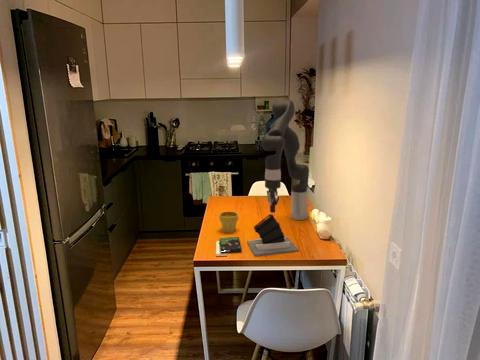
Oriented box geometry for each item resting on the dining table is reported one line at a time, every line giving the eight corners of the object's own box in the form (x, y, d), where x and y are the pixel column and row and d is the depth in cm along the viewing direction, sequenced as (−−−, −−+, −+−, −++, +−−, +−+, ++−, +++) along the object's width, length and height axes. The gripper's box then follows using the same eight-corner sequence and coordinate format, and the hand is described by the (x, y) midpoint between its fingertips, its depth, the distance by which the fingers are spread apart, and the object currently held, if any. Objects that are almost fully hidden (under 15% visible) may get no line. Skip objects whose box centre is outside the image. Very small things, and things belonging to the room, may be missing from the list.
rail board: (287, 238, 196) (287, 232, 195) (298, 251, 181) (298, 245, 180) (247, 243, 191) (247, 236, 190) (254, 256, 176) (254, 249, 175)
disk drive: (242, 253, 181) (238, 241, 195) (242, 248, 180) (238, 236, 194) (220, 255, 180) (219, 242, 194) (220, 249, 179) (218, 237, 193)
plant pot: (228, 235, 201) (228, 218, 199) (216, 230, 208) (215, 214, 206) (242, 230, 208) (241, 214, 206) (229, 225, 215) (229, 209, 213)
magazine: (290, 237, 182) (271, 215, 179) (270, 253, 184) (250, 232, 181) (289, 234, 186) (271, 212, 183) (269, 250, 188) (250, 229, 185)
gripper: (284, 180, 172) (284, 215, 176) (276, 174, 184) (275, 207, 188) (269, 181, 170) (268, 217, 174) (261, 175, 183) (261, 208, 187)
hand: (272, 212), depth 181 cm, fingers closed
